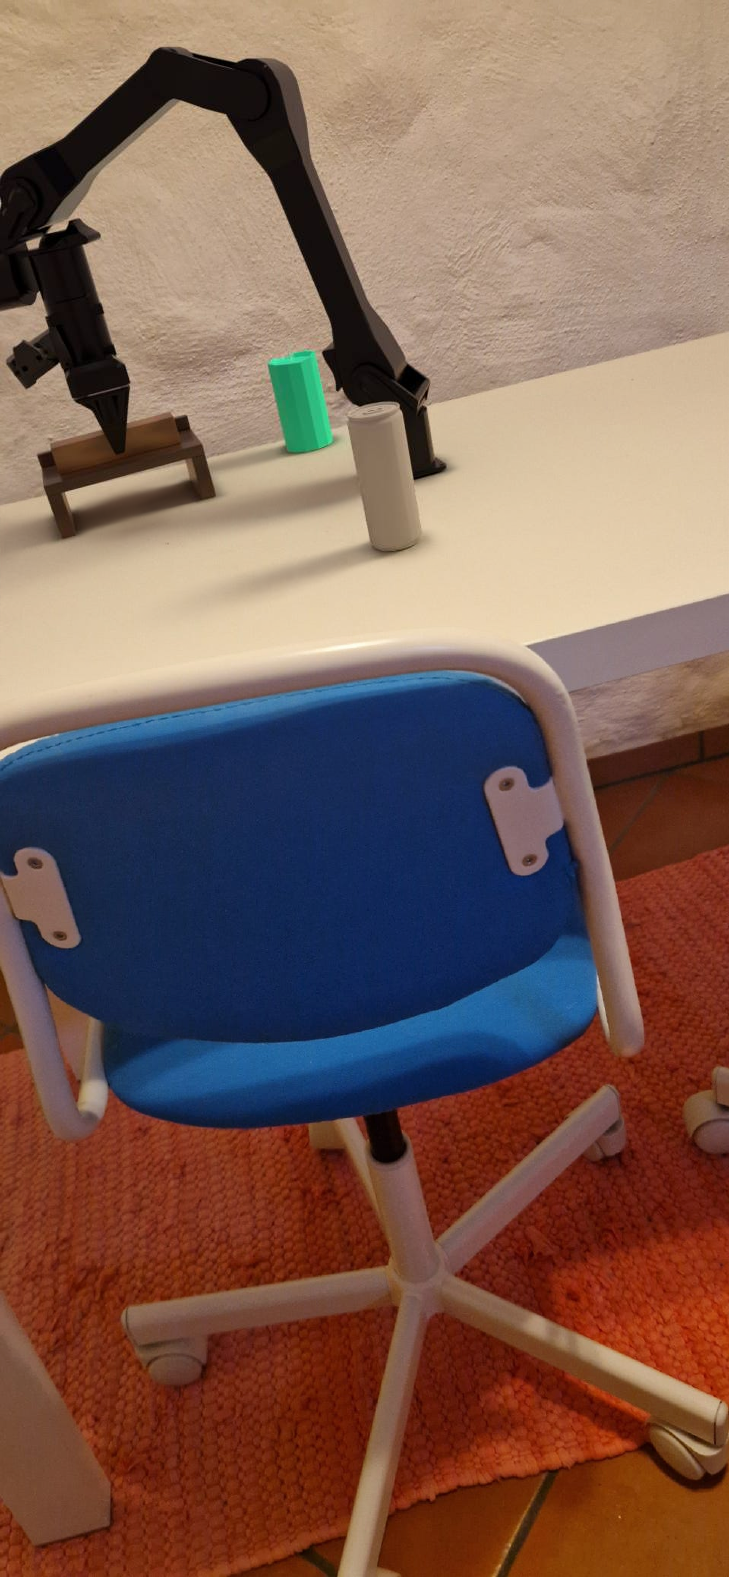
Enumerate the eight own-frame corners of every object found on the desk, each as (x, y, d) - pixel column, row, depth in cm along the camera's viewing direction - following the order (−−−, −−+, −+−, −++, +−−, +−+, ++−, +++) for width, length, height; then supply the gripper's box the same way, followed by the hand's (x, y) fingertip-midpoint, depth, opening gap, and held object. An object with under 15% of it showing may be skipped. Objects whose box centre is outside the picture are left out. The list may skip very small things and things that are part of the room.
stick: (177, 438, 123) (170, 411, 121) (180, 443, 120) (173, 416, 119) (58, 469, 121) (49, 443, 119) (59, 475, 118) (50, 448, 117)
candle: (335, 434, 134) (315, 334, 128) (330, 447, 129) (309, 344, 123) (290, 442, 135) (267, 343, 129) (282, 455, 131) (259, 354, 124)
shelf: (216, 496, 121) (198, 430, 117) (61, 538, 119) (38, 472, 115) (203, 476, 130) (186, 414, 126) (58, 515, 127) (36, 453, 123)
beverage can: (368, 540, 99) (343, 409, 93) (419, 529, 99) (397, 397, 93) (373, 557, 95) (347, 422, 89) (426, 546, 95) (404, 409, 89)
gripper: (-5, 309, 118) (44, 448, 126) (-7, 325, 103) (49, 483, 111) (93, 285, 120) (135, 424, 128) (105, 297, 104) (152, 455, 112)
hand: (116, 446), depth 120 cm, fingers open, 8 cm apart
